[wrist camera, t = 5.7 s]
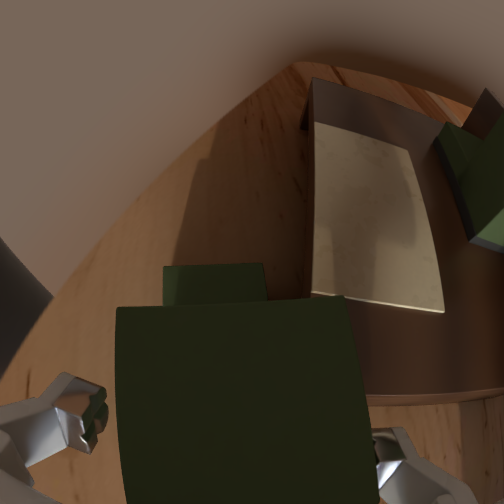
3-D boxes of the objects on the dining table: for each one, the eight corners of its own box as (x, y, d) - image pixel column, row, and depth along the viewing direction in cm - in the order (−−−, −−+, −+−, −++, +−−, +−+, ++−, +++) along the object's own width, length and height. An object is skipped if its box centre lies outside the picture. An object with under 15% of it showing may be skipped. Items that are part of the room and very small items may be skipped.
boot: (177, 467, 12) (128, 538, 3) (166, 286, 17) (134, 145, 8) (281, 458, 13) (385, 501, 4) (257, 282, 18) (302, 145, 9)
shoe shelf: (274, 400, 14) (392, 355, 5) (299, 120, 27) (329, 17, 18) (493, 397, 15) (611, 347, 6) (444, 167, 28) (493, 92, 18)
